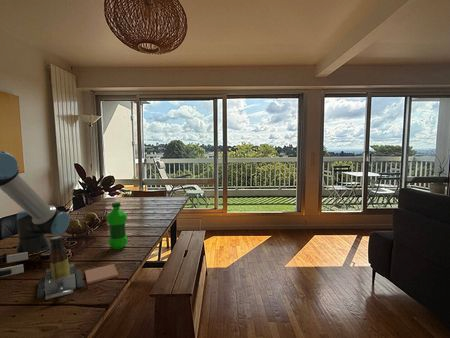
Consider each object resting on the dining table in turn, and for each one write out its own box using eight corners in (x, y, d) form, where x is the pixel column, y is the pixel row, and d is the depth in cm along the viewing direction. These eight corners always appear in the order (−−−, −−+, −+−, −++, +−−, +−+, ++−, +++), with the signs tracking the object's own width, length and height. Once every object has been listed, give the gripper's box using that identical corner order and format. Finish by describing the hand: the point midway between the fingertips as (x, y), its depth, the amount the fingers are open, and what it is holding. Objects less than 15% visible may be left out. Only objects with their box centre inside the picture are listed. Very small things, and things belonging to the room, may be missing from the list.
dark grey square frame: (40, 282, 110) (39, 270, 109) (81, 272, 117) (80, 261, 117) (35, 308, 92) (34, 294, 91) (84, 295, 99) (83, 282, 99)
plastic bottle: (132, 246, 148) (130, 202, 146) (116, 252, 139) (113, 206, 137) (120, 243, 153) (118, 200, 151) (104, 249, 144) (101, 204, 142)
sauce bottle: (73, 280, 111) (70, 234, 109) (65, 288, 105) (61, 239, 103) (57, 281, 111) (53, 234, 109) (48, 289, 104) (44, 240, 103)
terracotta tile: (85, 272, 117) (84, 270, 117) (113, 265, 124) (113, 263, 123) (87, 284, 107) (87, 282, 107) (118, 276, 113) (118, 274, 113)
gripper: (-39, 272, 101) (29, 259, 112) (-67, 305, 79) (22, 285, 90) (-41, 253, 100) (28, 242, 111) (-69, 281, 79) (20, 263, 90)
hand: (25, 261), depth 101 cm, fingers open, 13 cm apart
